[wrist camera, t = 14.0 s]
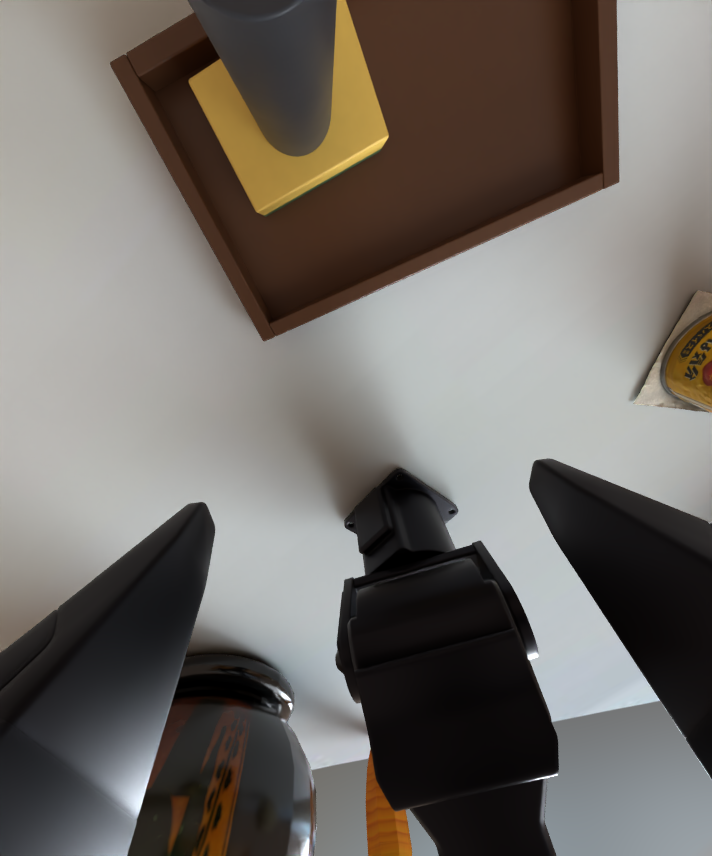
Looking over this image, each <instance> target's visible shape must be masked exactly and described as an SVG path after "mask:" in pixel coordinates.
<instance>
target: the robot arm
mask: <svg viewBox="0 0 712 856" xmlns="http://www.w3.org/2000/svg"><path fill="white" fill-rule="evenodd" d="M398 475H402V476H401V477H397V476H398ZM529 489H530V492H531V494H532V496H533V498H534V500H535V502H536V504H537V506H538V508H539V510H540V512H541V514H542V516H543V518H544V520H545V522H546V524H547V525H548V527H549V529H550V531H551V533H552V535H553V537H554V539H555V540H556V542H557V544H558V545H559V547H560V548H561V550H562V551H563V553H564V555H565V556H566V558H567V559H568V561H569V562H570V564H571V565H572V567H573V568H574V570H575V571H576V573H577V574H578V576H579V577H580V579H581V580H582V582H583V584H584V585H585V587H586V588H587V590H588V591H589V593H590V594H591V596H592V597H593V599H594V600H595V602H596V603H597V605H598V606H599V608H600V609H601V611H602V613H603V614H604V616H605V617H606V619H607V620H608V622H609V623H610V625H611V626H612V628H613V629H614V631H615V632H616V634H617V635H618V637H619V638H620V640H621V642H622V643H623V645H624V646H625V648H626V649H627V651H628V652H629V654H630V655H631V657H632V658H633V660H634V661H635V663H636V664H637V666H638V668H639V669H640V671H641V672H642V674H643V675H644V677H645V678H646V680H647V681H648V683H649V684H650V686H651V687H652V689H653V690H654V692H655V693H656V695H657V697H658V698H659V700H660V701H661V702H662V704H663V706H664V707H665V708H666V710H667V712H668V713H669V715H670V716H671V717H672V719H673V721H674V722H675V724H676V726H677V727H678V729H679V730H680V732H681V733H682V735H683V736H684V737H686V741H687V743H688V744H689V746H690V747H691V749H692V750H693V752H694V754H695V755H696V757H697V758H698V760H699V761H700V763H701V764H702V766H703V767H704V769H705V770H706V772H707V773H708V775H709V776H710V778H711V779H712V523H710V524H709V523H708V522H707V521H705V520H702V519H700V518H698V517H695V516H693V515H690V514H688V513H685V512H683V511H680V510H678V509H675V508H673V507H670V506H668V505H665V504H663V503H660V502H658V501H655V500H653V499H650V498H648V497H645V496H643V495H640V494H638V493H635V492H633V491H630V490H628V489H625V488H623V487H620V486H618V485H615V484H613V483H610V482H608V481H606V480H603V479H601V478H598V477H596V476H593V475H591V474H588V473H586V472H583V471H581V470H578V469H576V468H573V467H571V466H568V465H566V464H563V463H561V462H558V461H556V460H553V459H541V460H536V461H535V462H534V463H533V466H532V471H531V477H530V482H529ZM451 509H452V510H451ZM449 510H451V511H449ZM457 513H458V509H457V507H456V505H455V504H454V503H452V502H451V501H449V500H448V499H446V498H445V497H443V496H442V495H440V494H439V493H437V492H436V491H434V490H433V489H431V488H430V487H429V486H427V485H426V484H424V483H423V482H421V481H420V480H418V479H417V478H415V477H414V476H412V475H411V474H409V473H408V472H406V471H405V470H403V469H396V470H394V471H393V472H392V473H391V474H390V475H389V476H388V477H387V478H386V479H385V480H384V481H383V482H382V483H381V484H380V485H379V486H378V487H376V488H374V489H373V490H372V491H371V492H370V493H369V494H368V495H367V496H366V497H365V498H364V499H363V500H362V501H361V502H360V503H359V504H358V505H357V506H356V507H355V509H354V511H353V512H352V513H351V514H350V515H349V516H348V517H347V518H346V519H345V520H344V525H345V528H346V529H348V530H350V531H352V532H354V533H355V534H357V536H358V545H359V552H360V553H361V554H363V560H364V568H365V576H362V577H358V578H355V579H354V578H353V577H352V578H349V579H345V580H344V590H343V592H342V599H341V608H340V618H339V627H338V637H337V648H338V650H337V653H336V666H337V668H338V669H339V670H340V671H341V672H342V673H343V674H344V676H345V680H346V683H347V686H348V689H349V692H350V694H351V696H352V698H353V700H354V701H355V702H356V703H361V704H362V709H363V713H364V717H365V722H366V726H367V731H368V735H369V741H370V747H371V753H372V759H373V766H374V772H375V777H376V781H377V783H378V785H379V787H380V788H381V790H382V792H383V794H384V795H385V797H386V799H387V801H388V802H389V804H390V806H391V807H392V809H393V810H394V811H396V812H397V811H401V810H406V809H410V810H411V812H412V813H413V814H414V816H415V817H416V818H417V820H418V821H419V822H420V824H421V825H422V826H423V828H424V829H425V830H426V832H427V833H428V835H429V836H430V837H431V839H432V840H433V841H434V843H435V845H436V847H437V850H438V854H439V856H556V853H555V850H554V848H553V845H552V842H551V839H550V836H549V833H548V831H547V828H546V825H545V821H544V817H545V804H546V790H547V778H548V777H551V776H555V775H557V774H558V770H559V763H558V739H557V734H556V732H555V729H554V727H553V725H552V722H551V716H550V713H549V710H548V708H547V705H546V702H545V700H544V697H543V695H542V692H541V689H540V687H539V684H538V682H537V679H536V676H535V674H534V671H533V669H532V666H531V663H530V661H529V659H533V658H537V657H538V648H537V644H536V641H535V637H534V635H533V632H532V629H531V626H530V624H529V621H528V619H527V616H526V614H525V612H524V610H523V607H522V605H521V603H520V601H519V599H518V597H517V595H516V593H515V591H514V590H513V588H512V586H511V584H510V583H509V581H508V580H507V578H506V577H505V575H504V574H503V572H502V571H501V570H500V568H499V567H498V565H497V564H496V562H495V561H494V559H493V558H492V556H491V555H490V553H489V552H488V550H487V549H486V548H485V546H484V545H483V543H482V542H481V541H477V542H474V543H472V545H470V546H466V547H463V548H459V549H455V546H454V544H453V542H452V539H451V537H450V535H449V533H448V530H447V528H446V526H445V524H446V523H447V522H448V521H449V520H450V519H452V518H453V517H454V516H455V515H456V514H457ZM351 522H352V524H350V523H351ZM214 536H215V525H214V522H213V520H212V517H211V515H210V512H209V510H208V507H207V505H206V504H205V503H203V502H199V503H191V504H188V505H186V506H185V507H184V508H183V509H181V510H180V511H179V512H178V513H176V514H175V515H174V516H172V517H171V518H170V519H169V520H167V521H166V522H165V523H164V524H162V525H161V526H160V527H159V528H157V529H156V530H155V531H154V532H152V533H151V534H150V535H149V536H147V537H146V538H145V539H144V540H142V541H141V542H140V543H139V544H137V545H136V546H135V547H134V548H132V549H131V550H130V551H129V552H127V553H126V554H125V555H124V556H122V557H121V558H120V559H119V560H117V561H116V562H115V563H114V564H112V565H111V566H110V567H109V568H107V569H106V570H105V571H104V572H102V573H101V574H100V575H99V576H97V577H96V578H95V579H94V580H92V581H91V582H90V583H89V584H87V585H86V586H85V587H84V588H82V589H81V590H80V591H79V592H77V593H76V594H75V595H73V596H72V597H71V598H70V599H68V600H67V601H66V602H65V603H63V604H62V605H61V606H60V607H59V608H58V610H55V611H53V612H52V613H51V614H50V615H48V616H47V617H46V618H45V619H43V620H42V621H41V622H40V623H38V624H37V625H36V626H35V627H33V628H32V629H31V630H29V631H28V632H27V633H26V634H24V635H23V636H22V637H20V638H19V639H18V640H17V641H15V642H14V643H13V644H11V645H10V646H9V647H8V648H6V649H5V650H4V651H2V652H1V653H0V856H127V854H128V851H129V847H130V844H131V841H132V837H133V834H134V830H135V827H136V824H137V820H136V819H137V818H138V816H139V812H140V809H141V805H142V802H143V799H144V795H145V792H146V788H147V785H148V782H149V778H150V775H151V771H152V768H153V764H154V761H155V758H156V754H157V751H158V747H159V744H160V741H161V737H162V734H163V730H164V727H165V724H166V720H167V717H168V713H169V710H170V706H171V703H172V700H173V696H174V693H175V689H176V686H177V683H178V679H179V676H180V672H181V669H182V666H183V662H184V659H185V655H186V652H187V648H188V645H189V642H190V638H191V635H192V631H193V628H194V625H195V621H196V618H197V614H198V611H199V608H200V604H201V601H202V597H203V594H204V590H205V586H206V581H207V576H208V570H209V565H210V559H211V553H212V548H213V542H214Z"/></svg>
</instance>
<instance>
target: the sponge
mask: <svg viewBox="0 0 712 856" xmlns="http://www.w3.org/2000/svg"><path fill="white" fill-rule="evenodd" d="M188 2H189V4H190V5H191V7H192V9H193V11H194V12H195V14H196V16H197V18H198V20H199V21H200V23H201V25H202V27H203V28H204V30H205V32H206V34H207V36H208V37H209V39H210V41H211V43H212V44H213V46H214V48H215V50H216V52H217V53H218V55H219V57H220V59H219V60H218V61H216V62H215V63H213V64H211V65H210V66H208V67H207V68H205V69H204V70H202V71H201V72H199V73H198V74H196V75H195V76H193V77H192V78H190V79H189V84H190V86H191V88H192V90H193V92H194V94H195V96H196V98H197V100H198V102H199V104H200V106H201V107H202V109H203V111H204V113H205V115H206V117H207V119H208V121H209V123H210V125H211V127H212V129H213V130H214V132H215V134H216V136H217V138H218V140H219V142H220V144H221V146H222V148H223V150H224V152H225V154H226V155H227V157H228V159H229V161H230V163H231V165H232V167H233V169H234V171H235V173H236V175H237V177H238V178H239V180H240V182H241V184H242V186H243V188H244V190H245V192H246V194H247V196H248V198H249V200H250V201H251V203H252V205H253V207H254V209H255V211H256V212H257V213H259V214H261V215H263V216H265V217H267V216H268V215H270V214H272V213H274V212H275V211H277V210H279V209H281V208H282V207H284V206H286V205H288V204H289V203H291V202H293V201H295V200H296V199H298V198H300V197H302V196H303V195H305V194H307V193H309V192H310V191H312V190H314V189H316V188H317V187H319V186H321V185H323V184H324V183H326V182H328V181H330V180H331V179H333V178H335V177H337V176H338V175H340V174H342V173H344V172H345V171H347V170H349V169H351V168H352V167H354V166H356V165H358V164H359V163H361V162H363V161H365V160H366V159H368V158H370V157H372V156H373V155H375V154H377V153H379V152H380V151H381V149H382V147H383V145H384V144H385V142H386V140H387V139H388V137H389V133H388V130H387V127H386V124H385V121H384V118H383V115H382V112H381V109H380V105H379V102H378V99H377V96H376V93H375V90H374V87H373V84H372V81H371V77H370V74H369V71H368V68H367V65H366V62H365V59H364V56H363V53H362V49H361V46H360V43H359V40H358V37H357V34H356V31H355V28H354V25H353V21H352V18H351V15H350V12H349V9H348V6H347V3H346V0H188Z"/></svg>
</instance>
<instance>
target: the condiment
mask: <svg viewBox="0 0 712 856" xmlns="http://www.w3.org/2000/svg"><path fill="white" fill-rule="evenodd" d="M633 404H637V405H648V406H659V407H669V408H679V409H686V410H693V411H704V412H712V293H709V292H703V291H697V292H696V293H695V295H694V296H693V298H692V300H691V302H690V303H689V305H688V307H687V309H686V311H685V312H684V313H683V315H682V317H681V319H680V321H679V322H678V323H677V324H676V326H675V328H674V330H673V331H672V333H671V335H670V337H669V339H668V340H667V342H666V343H665V345H664V347H663V349H662V351H661V353H660V355H659V357H658V358H657V360H656V362H655V364H654V366H653V367H652V369H651V371H650V373H649V375H648V378H647V379H646V383H645V385H644V386H643V388H642V390H641V392H640V393H639V395H638V397H637V399H636V400H635V402H634V403H633Z"/></svg>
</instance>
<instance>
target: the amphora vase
mask: <svg viewBox="0 0 712 856" xmlns="http://www.w3.org/2000/svg"><path fill="white" fill-rule="evenodd" d="M293 710H294V693H293V691H292V688H291V686H290V684H289V682H288V681H287V680H286V679H285V678H284V677H283V676H282V675H281V674H280V673H279V672H278V671H277V670H275V669H273V668H271V667H269V666H267V665H266V664H264V663H261V662H258V661H255V660H252V659H248V658H245V657H241V656H233V655H226V654H203V655H197V656H191V657H185V659H184V662H183V666H182V669H181V672H180V676H179V679H178V683H177V686H176V689H175V693H174V696H173V700H172V703H171V706H170V710H169V713H168V717H167V720H166V724H165V727H164V730H163V734H162V737H161V741H160V744H159V747H158V751H157V754H156V758H155V761H154V764H153V768H152V771H151V775H150V778H149V782H148V785H147V788H146V792H145V795H144V799H143V802H142V805H141V809H140V812H139V816H138V818H137V819H136V820H137V824H136V827H135V830H134V834H133V837H132V841H131V844H130V847H129V851H128V854H127V856H314V850H315V841H316V790H315V785H314V781H313V776H312V773H311V768H310V764H309V762H308V760H307V758H306V756H305V754H304V751H303V749H302V747H301V745H300V743H299V741H298V739H297V737H296V735H295V733H294V732H293V730H292V729H291V727H290V726H289V725H288V723H287V721H288V720H289V718H290V716H291V714H292V712H293Z"/></svg>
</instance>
